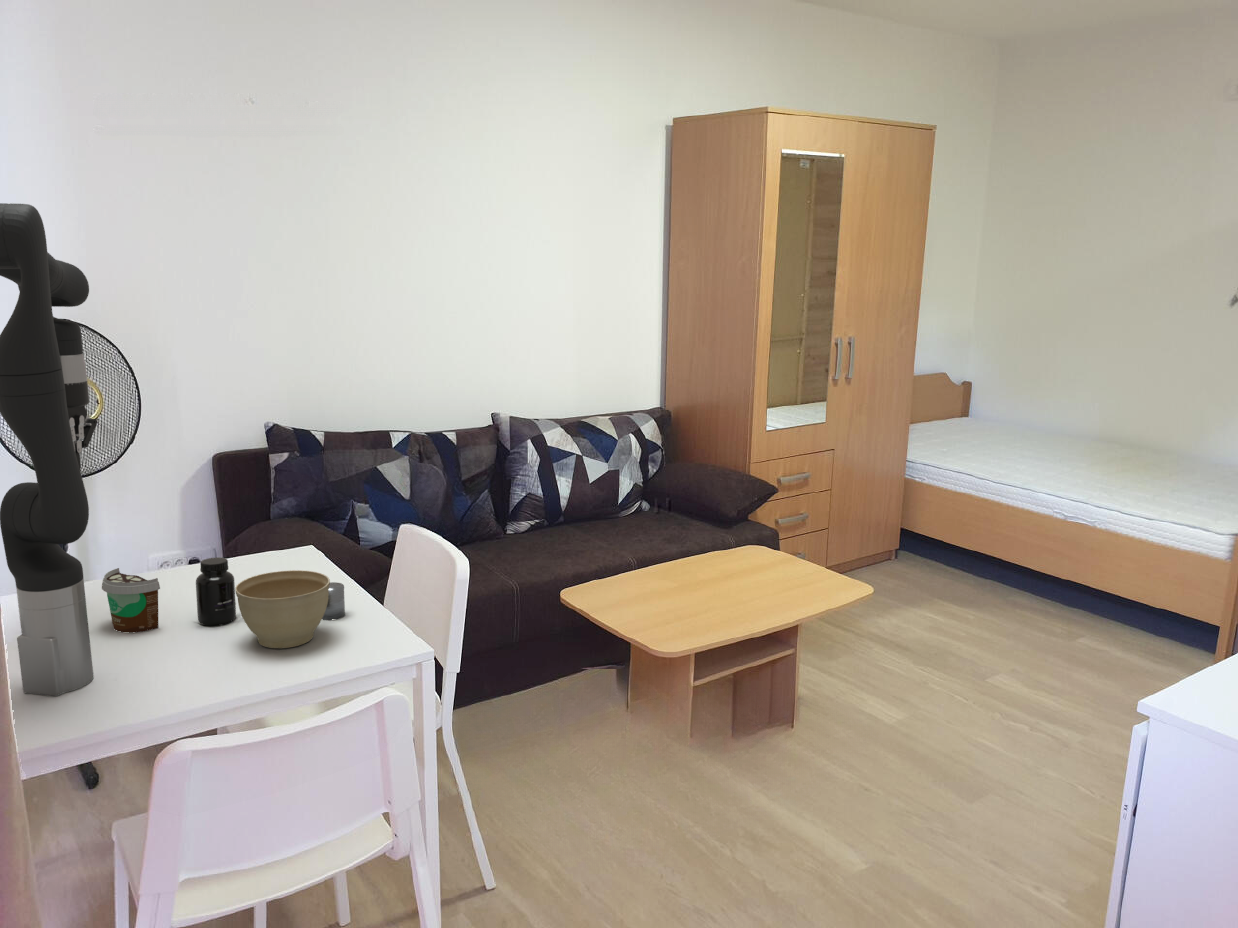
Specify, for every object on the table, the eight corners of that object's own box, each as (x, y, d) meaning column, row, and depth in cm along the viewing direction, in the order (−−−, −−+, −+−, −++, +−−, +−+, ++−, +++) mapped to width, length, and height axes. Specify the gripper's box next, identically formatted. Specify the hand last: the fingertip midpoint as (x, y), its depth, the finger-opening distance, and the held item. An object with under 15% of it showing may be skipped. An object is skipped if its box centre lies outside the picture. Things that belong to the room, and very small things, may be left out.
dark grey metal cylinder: (338, 621, 180) (336, 591, 179) (313, 619, 181) (312, 589, 180) (349, 611, 185) (348, 583, 184) (325, 610, 186) (324, 581, 185)
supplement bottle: (227, 627, 176) (223, 567, 173) (191, 626, 176) (187, 565, 174) (242, 614, 183) (238, 555, 180) (208, 613, 183) (203, 554, 180)
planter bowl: (348, 629, 177) (346, 574, 174) (298, 662, 161) (295, 603, 159) (275, 618, 181) (272, 565, 179) (219, 650, 166) (215, 592, 163)
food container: (91, 626, 175) (85, 576, 173) (121, 616, 180) (116, 567, 178) (133, 640, 169) (128, 588, 167) (163, 629, 174) (159, 578, 172)
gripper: (54, 384, 160) (64, 482, 164) (107, 376, 173) (115, 467, 177) (15, 383, 161) (26, 480, 165) (70, 374, 174) (79, 465, 178)
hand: (72, 473), depth 171 cm, fingers closed
